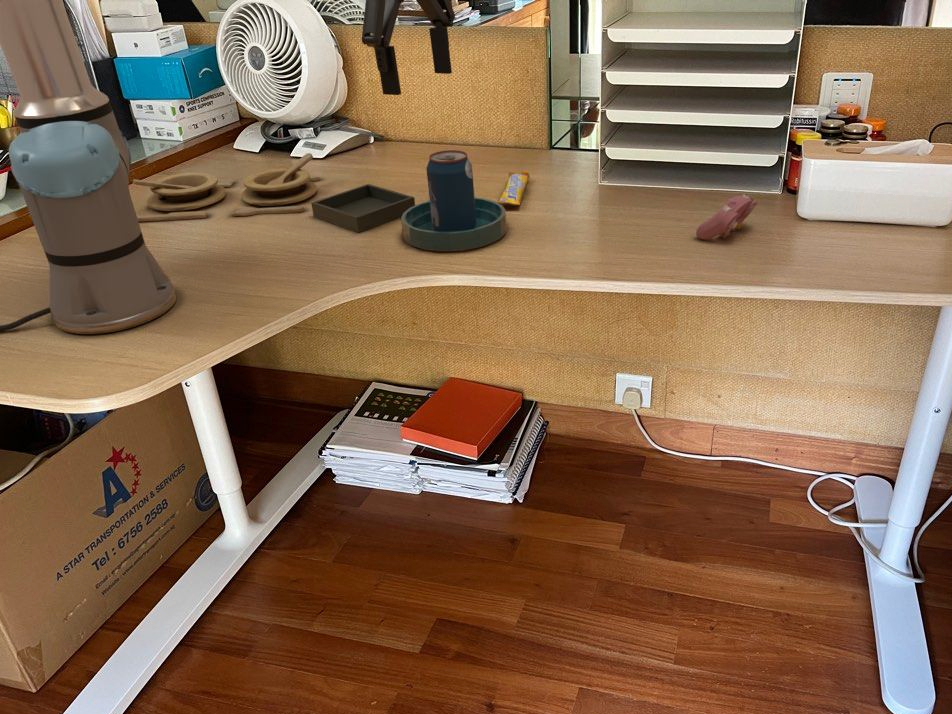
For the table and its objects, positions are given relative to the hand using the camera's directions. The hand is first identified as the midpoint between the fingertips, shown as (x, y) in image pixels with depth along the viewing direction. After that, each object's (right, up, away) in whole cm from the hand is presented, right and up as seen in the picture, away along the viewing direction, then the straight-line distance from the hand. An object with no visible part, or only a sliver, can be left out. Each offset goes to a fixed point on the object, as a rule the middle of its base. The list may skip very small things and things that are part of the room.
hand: (418, 83), depth 126 cm
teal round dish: (+5, -21, +6) cm, 23 cm away
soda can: (+5, -21, +6) cm, 23 cm away
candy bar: (+14, -12, +21) cm, 28 cm away
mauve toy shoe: (+47, -22, +2) cm, 52 cm away
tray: (-11, -16, +15) cm, 25 cm away
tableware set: (-37, -12, +24) cm, 46 cm away
